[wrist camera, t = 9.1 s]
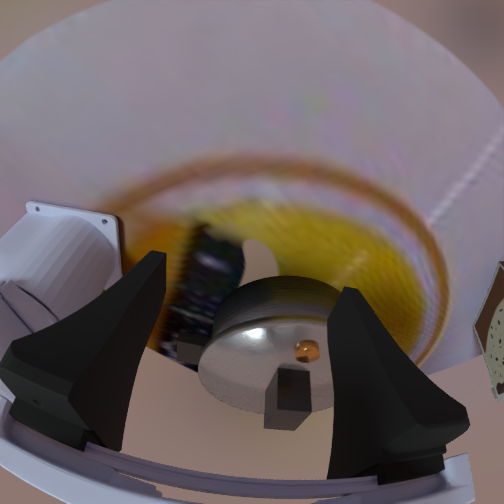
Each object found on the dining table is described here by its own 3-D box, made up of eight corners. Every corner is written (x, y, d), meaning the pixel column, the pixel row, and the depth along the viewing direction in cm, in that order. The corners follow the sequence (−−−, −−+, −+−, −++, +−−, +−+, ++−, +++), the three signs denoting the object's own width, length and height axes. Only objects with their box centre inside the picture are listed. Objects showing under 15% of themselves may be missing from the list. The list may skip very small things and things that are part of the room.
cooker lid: (196, 394, 27) (188, 435, 23) (207, 298, 19) (194, 357, 15) (331, 410, 28) (334, 448, 24) (403, 327, 20) (419, 379, 16)
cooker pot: (185, 350, 31) (176, 390, 27) (192, 255, 23) (176, 302, 19) (344, 373, 32) (348, 410, 28) (400, 294, 24) (417, 337, 20)
